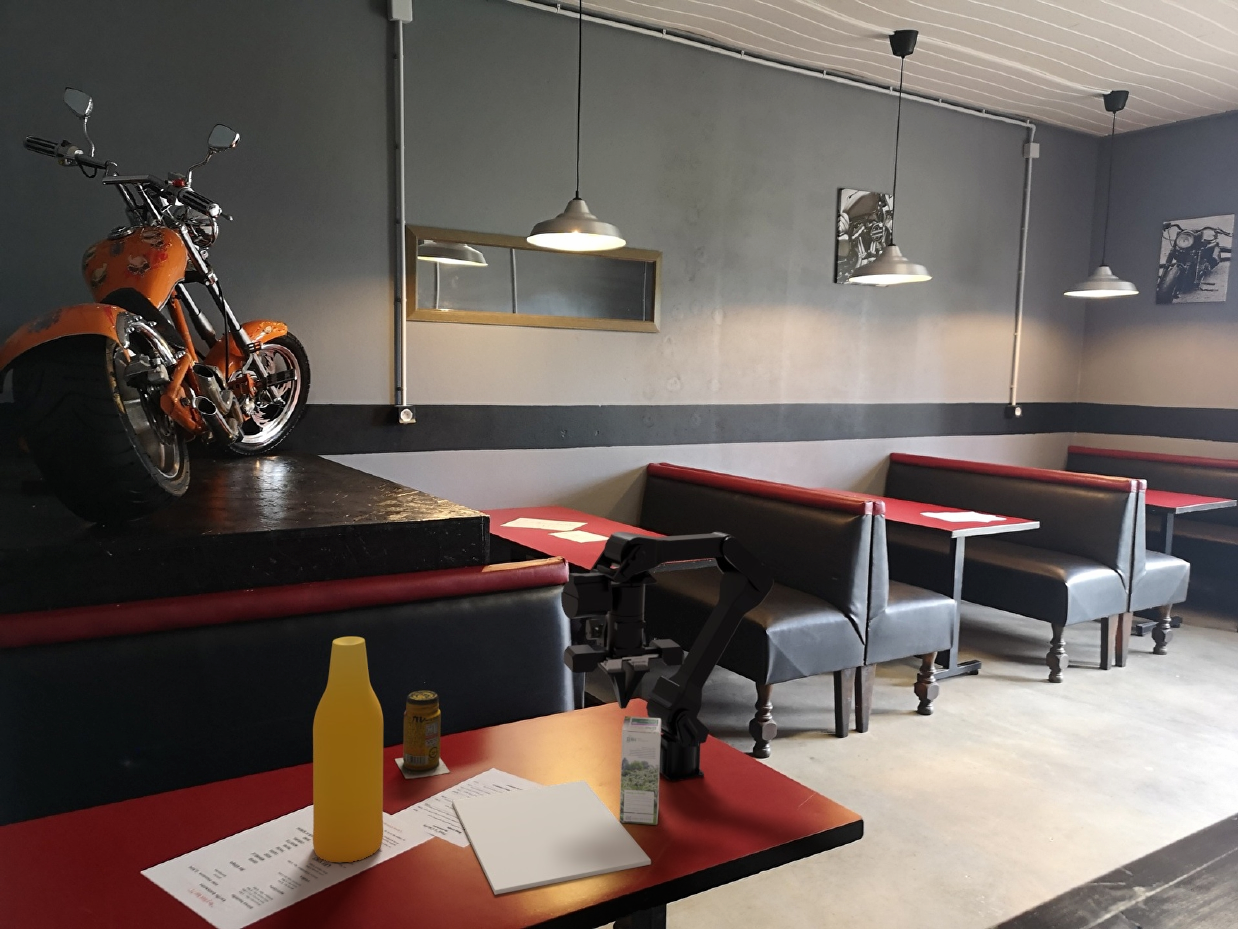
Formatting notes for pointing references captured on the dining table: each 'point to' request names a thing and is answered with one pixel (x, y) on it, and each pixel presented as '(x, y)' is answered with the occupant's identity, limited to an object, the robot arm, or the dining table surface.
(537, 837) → the mat
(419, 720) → the condiment
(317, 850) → the beer bottle
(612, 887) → the dining table surface
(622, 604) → the robot arm
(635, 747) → the syrup box
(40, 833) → the dining table surface
